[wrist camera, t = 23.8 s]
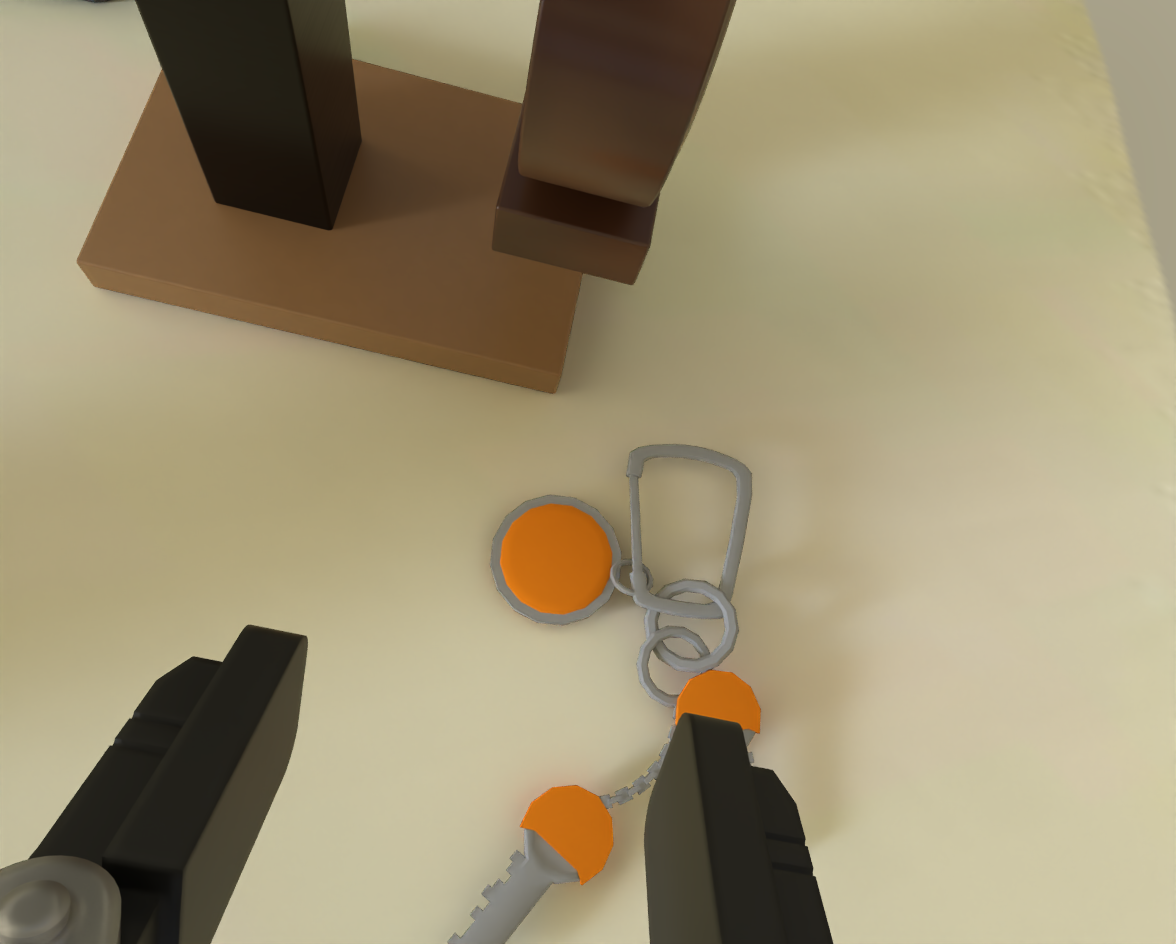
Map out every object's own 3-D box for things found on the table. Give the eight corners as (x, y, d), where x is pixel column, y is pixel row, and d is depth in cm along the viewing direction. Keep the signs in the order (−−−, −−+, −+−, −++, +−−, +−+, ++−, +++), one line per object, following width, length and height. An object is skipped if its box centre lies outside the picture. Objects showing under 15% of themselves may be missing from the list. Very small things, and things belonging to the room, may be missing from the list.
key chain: (512, 419, 23) (515, 406, 22) (782, 466, 23) (794, 456, 23) (421, 974, 18) (421, 984, 18) (755, 1009, 19) (769, 1019, 18)
